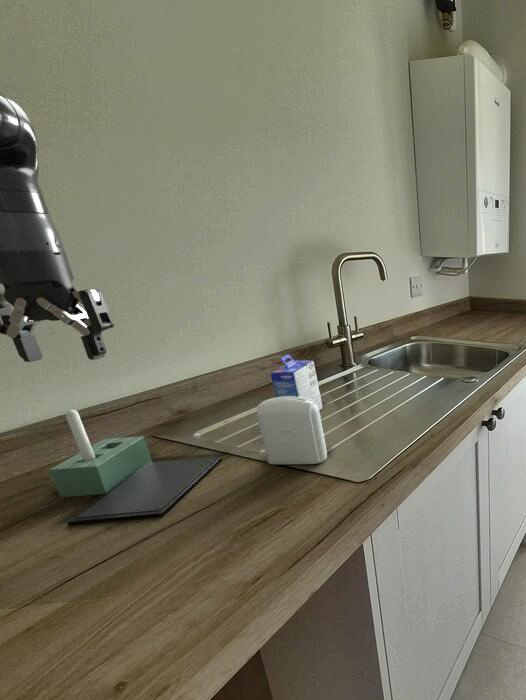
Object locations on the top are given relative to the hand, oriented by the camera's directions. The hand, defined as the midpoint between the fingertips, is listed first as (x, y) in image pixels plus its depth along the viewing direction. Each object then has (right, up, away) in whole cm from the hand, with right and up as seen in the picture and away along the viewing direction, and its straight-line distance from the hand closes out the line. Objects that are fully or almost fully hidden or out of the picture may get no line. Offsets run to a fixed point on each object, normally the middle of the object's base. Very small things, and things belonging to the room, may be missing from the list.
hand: (66, 359), depth 62 cm
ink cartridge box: (+20, -11, +32) cm, 40 cm away
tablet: (+10, -21, +4) cm, 24 cm away
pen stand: (-1, -20, +7) cm, 21 cm away
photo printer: (+29, -18, +13) cm, 36 cm away
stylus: (0, -20, +5) cm, 21 cm away
